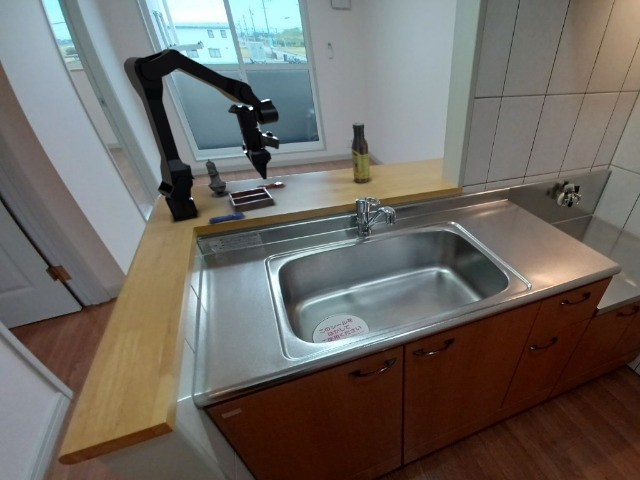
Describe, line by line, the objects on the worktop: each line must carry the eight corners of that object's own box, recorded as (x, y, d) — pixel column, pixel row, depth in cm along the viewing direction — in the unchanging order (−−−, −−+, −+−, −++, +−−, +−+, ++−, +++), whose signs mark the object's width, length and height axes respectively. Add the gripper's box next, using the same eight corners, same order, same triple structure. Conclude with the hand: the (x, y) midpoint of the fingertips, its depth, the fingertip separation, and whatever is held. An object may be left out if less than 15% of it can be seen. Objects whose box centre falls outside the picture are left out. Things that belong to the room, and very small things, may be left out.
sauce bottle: (352, 178, 127) (347, 122, 115) (368, 177, 129) (364, 120, 116) (356, 184, 122) (350, 125, 110) (372, 182, 124) (368, 124, 111)
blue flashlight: (210, 225, 96) (208, 220, 95) (209, 221, 98) (207, 217, 97) (244, 218, 100) (242, 213, 99) (242, 214, 102) (241, 210, 101)
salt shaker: (217, 198, 112) (203, 162, 105) (208, 194, 115) (194, 159, 108) (233, 193, 116) (221, 158, 108) (224, 189, 119) (212, 155, 111)
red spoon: (258, 191, 117) (257, 187, 116) (256, 189, 119) (255, 185, 118) (284, 186, 121) (283, 182, 120) (282, 184, 123) (281, 180, 122)
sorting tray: (236, 213, 103) (233, 205, 101) (230, 200, 111) (227, 193, 109) (274, 205, 108) (272, 198, 106) (266, 193, 116) (264, 186, 114)
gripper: (281, 129, 103) (291, 179, 113) (267, 120, 116) (278, 165, 126) (244, 134, 99) (259, 185, 109) (234, 123, 112) (248, 170, 121)
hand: (262, 175), depth 116 cm, fingers open, 9 cm apart
